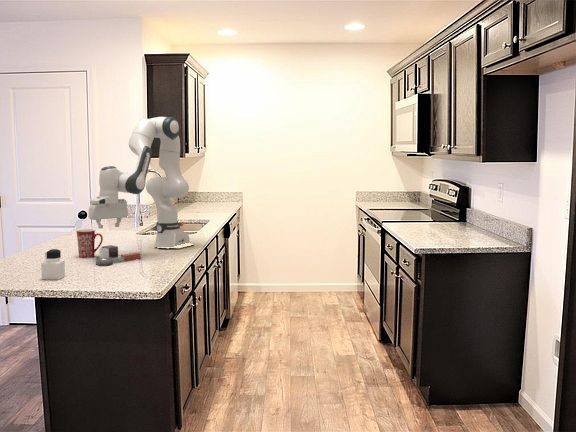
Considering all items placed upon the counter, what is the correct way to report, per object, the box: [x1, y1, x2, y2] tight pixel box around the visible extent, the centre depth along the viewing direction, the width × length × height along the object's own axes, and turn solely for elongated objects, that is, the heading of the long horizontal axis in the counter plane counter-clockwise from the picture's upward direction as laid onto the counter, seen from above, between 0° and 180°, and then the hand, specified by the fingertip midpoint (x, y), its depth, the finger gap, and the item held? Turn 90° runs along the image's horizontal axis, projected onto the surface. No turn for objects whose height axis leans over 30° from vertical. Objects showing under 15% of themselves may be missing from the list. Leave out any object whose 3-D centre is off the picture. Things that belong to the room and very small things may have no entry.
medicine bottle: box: [40, 248, 66, 281], centre depth 234 cm, size 7×7×12 cm
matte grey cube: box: [101, 244, 119, 258], centre depth 277 cm, size 6×6×6 cm
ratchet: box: [95, 247, 141, 267], centre depth 269 cm, size 23×8×8 cm, turn 142°
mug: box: [75, 228, 104, 259], centre depth 280 cm, size 13×9×14 cm
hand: (109, 227), depth 275 cm, fingers open, 8 cm apart
